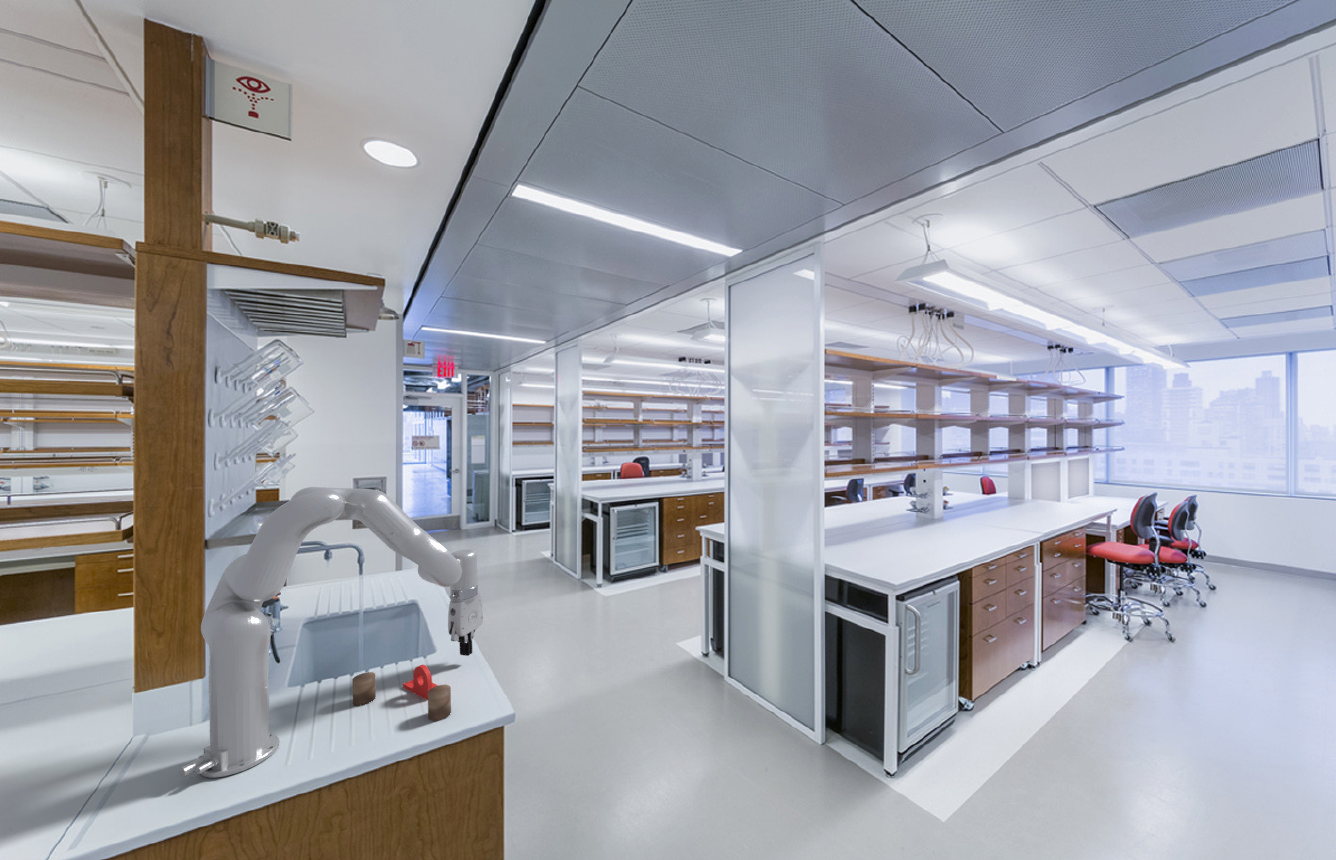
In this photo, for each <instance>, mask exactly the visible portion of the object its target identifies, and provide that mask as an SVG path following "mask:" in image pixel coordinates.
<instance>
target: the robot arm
mask: <svg viewBox="0 0 1336 860" xmlns="http://www.w3.org/2000/svg"><path fill="white" fill-rule="evenodd" d="M335 521H359V522H360V523H362V524H363V525H364V526H365V527H366V528H367V529H368V530H370V531H371V532H372V533H373V534H374V535H376V537H378V538H379V540H380V541H381V542H383V543H384V545H386V546H387V548H389V549H390V550H392V551H394V553H396V554H398V555H399V556H401V557H403V558H406V559H407V560H409V561H411V562H413V563H415V564H416V565H417V574H418V576H419V577H420V578H421V579H422V580H424V581H426V582H427V583H430V584H433V585H436V586H440V587H441V588H442V587H443V588H448V587H449V591H450V595H449V599H450V601H449V604H448V615H447V629H448V630H447V632H448V634H449V635H450V642H457V643H459V655H460V656H466V657H470V655H472V654H473V640H474V635H475V632H476V630H477V629H478V628H479V627H481V626H482V625H483V623H484V610H483V604H482V599H481V596H480V595H481V594H480V592H479V587H478V585H479V583H478V558H477V556H478V555H477V552H476V551H475V550H473V549H460V550H456V551H453V552H451V551H449V550H448V549H447V548H446V547H445V546H444V545H442V544H441V543H440V542H439V541H438V540H437V539H435V538H434V537H432V536H431V535H430V533H428V532H427V531H426V530H424V529H423V528H421V527H420V526H419V525H418V524H417V523H416V522H415V521H414V520H413V519H412V518H411V516H409V515H408V514H407V513H406V512H405V511H404V510H403V509H402V508H401V507H400V506H399V505H398V504H397V503H396V502H395V501H394V500H393V499H392V498H391V497H390V496H389V495H388V494H386V493H385V492H383V491H381V490H378V489H371V488H352V487H351V488H347V487H346V488H345V487H343V488H342V487H325V486H324V487H322V486H319V487H318V486H310V487H305V488H301V489H300V490H298V491H297V492H295V493H294V494H293V495H292V496H291V498H290V500H288V501H287V502H285V503H283V504H281V505H280V506H279V507H276V509H275V510H274V511H272V512H271V513H270V514H269V515H268V516H267V517H266V519H265V520H264V521H263V522H262V524H261V525H260V528H259V529H258V531H257V533H256V535H255V536H254V539H253V541H252V543H251V544H250V547H249V548H248V550H247V552H246V553H245V554H242V555H240V556H238V557H236V558H235V559H233V561H231V562H230V563H229V564H228V566H227V567H226V568H225V569H224V572H223V573H222V574H221V576H220V579H219V581H218V583H217V585H216V588H215V590H214V592H213V594H212V596H211V599H210V601H209V603H208V605H207V608H206V610H205V612H204V615H203V618H202V619H201V620H202V621H201V624H200V632H201V635H202V637H203V639H204V641H205V642H206V645H208V649H209V651H208V652H209V664H208V704H209V707H208V708H209V711H208V712H209V713H208V714H209V717H208V718H209V745H208V746H206V747H204V748H203V754H201V755H199V756H198V758H197V759H195V760H194V761H191V762H189V763H187V764H185V765H183V766H181V767H180V768H179V771H178V772H179V776H180V777H181V778H186V777H187V776H189V775H191V774H192V773H195V772H196V774H197V775H201V776H203V777H204V778H209V779H211V778H212V779H213V778H214V779H215V778H222V777H228V776H231V775H236V774H238V773H240V772H244V771H247V770H249V769H251V768H252V767H255V766H257V765H259V764H260V763H262V762H264V761H265V760H267V759H268V758H269V757H271V756H272V755H273V754H274V753H275V752H276V751H277V749H278V748H279V746H280V738H279V736H278V735H275V734H274V733H271V732H270V730H271V729H270V689H269V688H270V685H269V684H270V680H269V674H270V673H269V659H270V658H269V657H270V655H269V653H270V645H271V644H270V643H271V636H272V634H271V632H272V631H271V625H270V621H269V620H268V618H267V617H266V615H265V614H264V613H263V612H262V611H260V610H261V608H262V606H263V603H264V602H267V601H269V600H271V599H273V598H274V597H276V596H277V595H278V594H279V593H280V592H281V591H282V589H283V588H284V586H285V584H286V582H287V581H286V580H287V577H288V575H289V573H290V571H291V568H292V566H293V563H294V561H295V558H296V557H297V556H296V555H297V553H298V551H299V549H300V547H301V545H302V543H303V542H304V539H305V538H307V536H308V534H310V533H311V532H312V531H313V530H315V529H316V528H318V527H321V526H323V525H327V524H330V523H333V522H335Z"/></svg>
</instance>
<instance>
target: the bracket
mask: <svg viewBox="0 0 1336 860" xmlns="http://www.w3.org/2000/svg"><path fill="white" fill-rule="evenodd" d="M412 677H413V678H412V679H410V680H409V681H406V682H404V683H402V688H403V689H404V690H407V691H408V692H411V693H412V694H414V693H415V695H416V696H419V697H420V698H421V699H424V700H426V701H428V691H429V690H430V689H431V688H433V687H435V686H439V684H436V683H433V678H432V674H431V671H430V669H429V668H428V666H427V665H425V664H419V665H417V666H415V668H414V669H413V674H412Z"/></svg>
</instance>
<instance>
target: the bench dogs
mask: <svg viewBox="0 0 1336 860" xmlns="http://www.w3.org/2000/svg"><path fill="white" fill-rule="evenodd" d="M351 681H352V682H351V683H352V684H351V687H352V688H351V689H352V705H353V706H355V707H361V706H360V705H362V706H365V704H366V705H368V704H370V703H369V702H371V701H372V702H374V701H375V700H376V698H375V697H376V695H377V694H376V693H377V692H376V673H375V672H371V671H368V672H367V671H366V672H364V673H359V674H357V675H356V676H354V677H353V678H352V680H351ZM451 691H452V690H451V686H450V685H449V684H440V685H439V684H438V686H435V687H433V688H431V689H430V690H429V691H428V700H427V707H428V708H427V714H428V715H427V717H428V718H427V719H428V721H431V722H439V721H442V720H445V719H447V718H449V717H450V715H451V714H450V713H452V701H451V700H452V695H451V694H452V692H451ZM374 699H375V700H374ZM373 700H374V701H373ZM372 702H371V703H372Z"/></svg>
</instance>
